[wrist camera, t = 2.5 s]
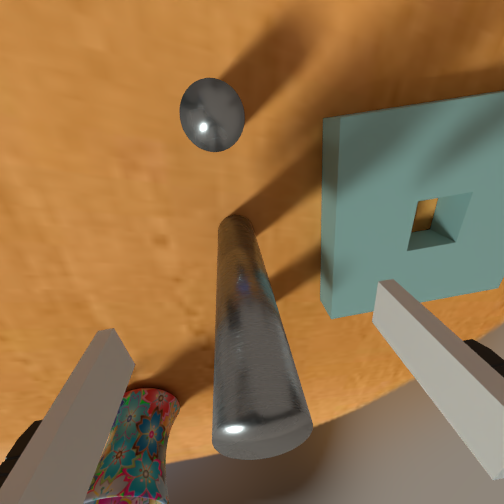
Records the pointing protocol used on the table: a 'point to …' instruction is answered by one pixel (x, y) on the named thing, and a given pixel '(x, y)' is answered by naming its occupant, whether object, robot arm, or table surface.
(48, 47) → the table surface
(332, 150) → the hole block
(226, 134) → the short pin
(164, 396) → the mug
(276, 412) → the long pin
